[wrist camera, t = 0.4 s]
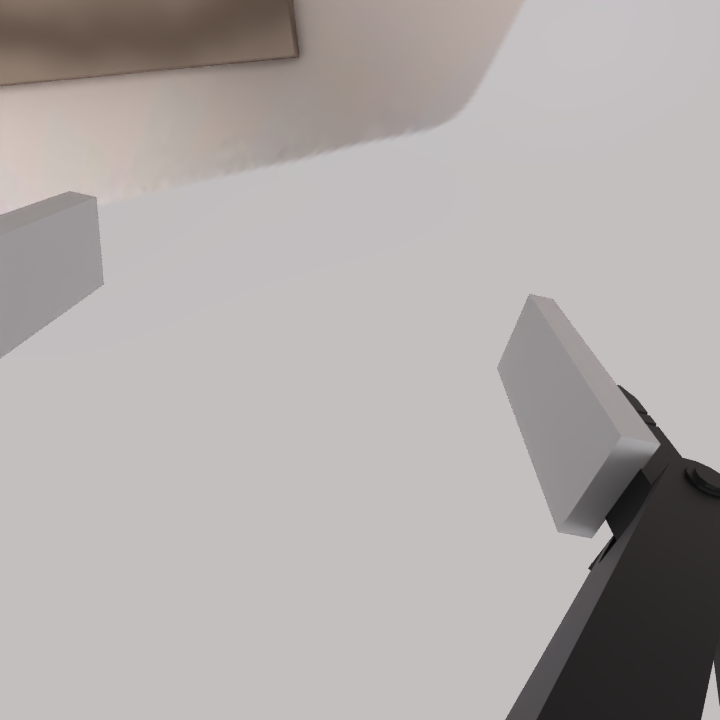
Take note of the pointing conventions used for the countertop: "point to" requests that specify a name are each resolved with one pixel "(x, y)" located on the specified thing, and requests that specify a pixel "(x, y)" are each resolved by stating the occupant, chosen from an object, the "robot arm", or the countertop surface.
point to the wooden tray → (138, 36)
